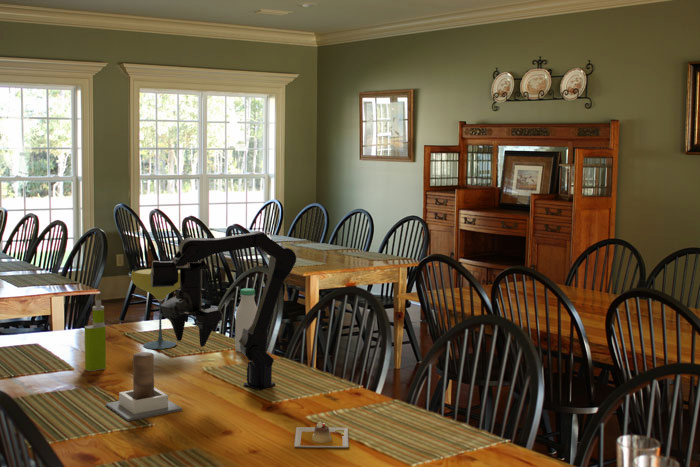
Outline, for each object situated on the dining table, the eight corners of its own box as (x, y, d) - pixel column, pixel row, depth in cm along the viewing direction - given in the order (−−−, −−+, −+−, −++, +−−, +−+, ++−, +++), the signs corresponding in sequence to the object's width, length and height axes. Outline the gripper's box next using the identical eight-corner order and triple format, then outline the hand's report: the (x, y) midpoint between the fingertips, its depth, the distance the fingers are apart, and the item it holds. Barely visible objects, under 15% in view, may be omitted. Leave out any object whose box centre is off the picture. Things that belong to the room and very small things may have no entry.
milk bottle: (247, 354, 253) (247, 292, 251) (230, 350, 258) (230, 289, 256) (264, 350, 260) (264, 289, 257) (247, 346, 264) (247, 286, 262)
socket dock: (157, 396, 210) (157, 382, 209) (181, 410, 199) (181, 396, 198) (105, 405, 201) (105, 391, 201) (128, 421, 190) (127, 406, 190)
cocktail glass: (146, 355, 250) (146, 276, 247) (122, 343, 263) (122, 268, 261) (198, 347, 261) (198, 271, 258) (172, 336, 275) (172, 264, 272)
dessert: (347, 432, 188) (347, 412, 187) (348, 451, 176) (349, 430, 175) (296, 431, 187) (296, 411, 187) (293, 451, 175) (294, 429, 175)
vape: (108, 368, 235) (107, 300, 232) (89, 371, 230) (88, 303, 228) (102, 365, 237) (101, 299, 235) (83, 368, 233) (82, 301, 231)
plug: (157, 403, 202) (157, 353, 200) (148, 409, 197) (148, 358, 195) (139, 401, 203) (139, 351, 201) (129, 407, 198) (129, 356, 197)
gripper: (143, 285, 211) (143, 343, 212) (190, 294, 199) (190, 355, 201) (176, 280, 220) (176, 336, 221) (223, 288, 208) (223, 347, 210)
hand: (190, 343), depth 213 cm, fingers open, 9 cm apart
